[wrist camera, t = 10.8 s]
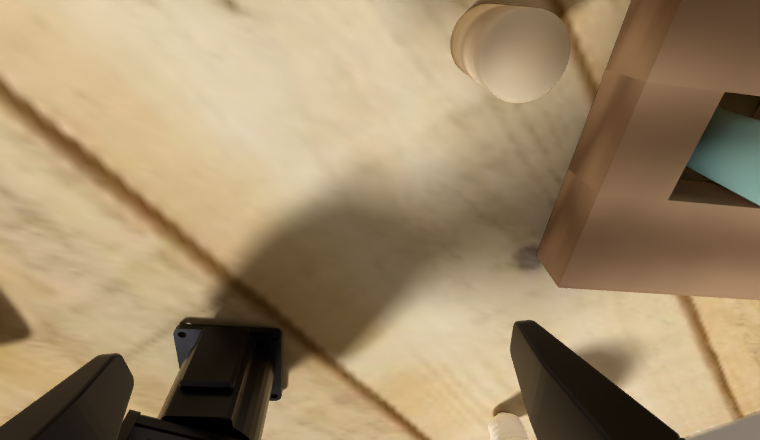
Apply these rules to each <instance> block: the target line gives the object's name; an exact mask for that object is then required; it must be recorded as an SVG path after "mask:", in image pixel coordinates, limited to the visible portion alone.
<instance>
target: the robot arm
mask: <svg viewBox="0 0 760 440" xmlns="http://www.w3.org/2000/svg"><path fill="white" fill-rule="evenodd" d="M183 332H184V333H183ZM173 335H174V340H175V346H176V351H177V357H178V362H179V368H180V370H179V372H178V375H177V377H176V379H175V381H174V383H173V385H172V388H171V390H170V392H169V394H168V396H167V398H166V401H165V403H164V405H163V407H162V409H161V411H160V414H159V416H158V418H154V417H150V416H145V415H141V414H140V413H141V412H138V411H134V410H129V412H128V413H127V415H126V417H125V419H124V420H123V418H124V415H125V412H126V409H127V405H128V402H129V399H130V396H131V393H132V390H133V385H134V379H133V376H132V374H131V372H130V370H129V368H128V366H127V364H126V363H125V361H124V359H123V357H122V356H121V355H120V354H117V353H113V354H102V355H99V356H97V357H95V358H94V359H92V360H91V361H90V362H88V363H87V364H85V365H84V366H83V367H81V368H80V369H79V370H77V371H76V372H75V373H73V374H72V375H70V376H69V377H68V378H66V379H65V380H64V381H62V382H61V383H60V384H58V385H57V386H55V387H54V388H53V389H51V390H50V391H49V392H47V393H46V394H45V395H43V396H42V397H40V398H39V399H38V400H36V401H35V402H34V403H32V404H31V405H30V406H28V407H27V408H25V409H24V410H23V411H21V412H20V413H19V414H17V415H16V416H15V417H13V418H12V419H10V420H9V421H8V422H6V423H5V424H4V425H2V426H1V427H0V440H261V437H262V432H263V428H264V423H265V418H266V413H267V409H268V404H269V401H277V400H279V399H280V398H281V396H282V336H283V335H282V332H281V331H280V330H278V329H275V328H255V327H234V326H213V325H192V324H180V325H178V326H177V327H176V329H175V331H174V334H173ZM272 336H276V337H272ZM510 352H511V357H512V361H513V364H514V368H515V371H516V375H517V378H518V382H519V385H520V389H521V392H522V396H523V399H524V403H525V406H526V409H527V413H528V416H529V419H530V422H531V425H532V427H533V430H534V433H535V435H536V438H537V440H685V439H684V438H680V436H679V434H678V433H676V432H675V431H674V430H672V429H671V428H670V427H669V426H667V425H666V424H665V423H664V422H662V421H661V420H660V419H658V418H657V417H656V416H655V415H653V414H652V413H651V412H650V411H648V410H647V409H646V408H644V407H643V406H642V405H641V404H639V403H638V402H637V401H636V400H634V399H633V398H632V397H630V396H629V395H628V394H627V393H625V392H624V391H623V390H621V389H620V388H619V387H618V386H616V385H615V384H614V383H613V382H611V381H610V380H609V379H607V378H606V377H605V376H604V375H602V374H601V373H600V372H599V371H597V370H596V369H595V368H593V367H592V366H591V365H590V364H588V363H587V362H586V361H585V360H583V359H582V358H581V357H579V356H578V355H577V354H576V353H574V352H573V351H572V350H570V349H569V348H568V347H567V346H565V345H564V344H563V343H562V342H560V341H559V340H558V339H556V338H555V337H554V336H553V335H551V334H550V333H549V332H548V331H546V330H545V329H544V328H542V327H541V326H540V325H539V324H537V323H536V322H535V321H532V320H526V321H517V322H515V323H514V325H513V331H512V338H511V345H510ZM122 421H123V422H122Z"/></svg>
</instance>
